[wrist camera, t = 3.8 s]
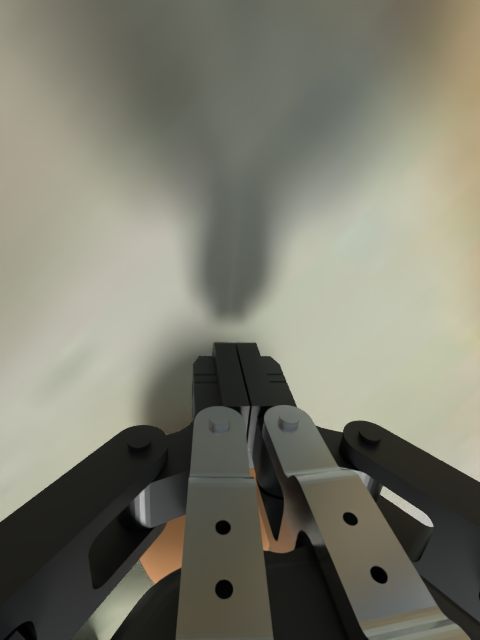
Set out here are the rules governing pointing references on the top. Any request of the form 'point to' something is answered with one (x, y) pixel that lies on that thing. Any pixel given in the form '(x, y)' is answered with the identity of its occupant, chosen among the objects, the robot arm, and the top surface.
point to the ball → (176, 547)
